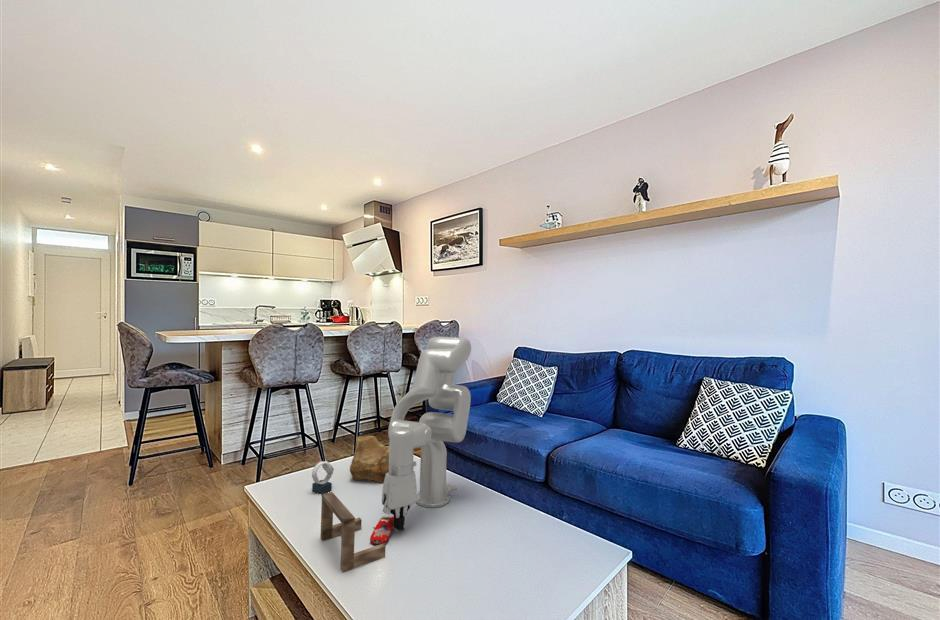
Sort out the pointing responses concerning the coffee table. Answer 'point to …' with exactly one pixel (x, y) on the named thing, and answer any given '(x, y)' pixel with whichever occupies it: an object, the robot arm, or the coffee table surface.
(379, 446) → the rough brown rock
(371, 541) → the race car
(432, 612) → the coffee table surface
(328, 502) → the walnut tunnel
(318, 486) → the watch
